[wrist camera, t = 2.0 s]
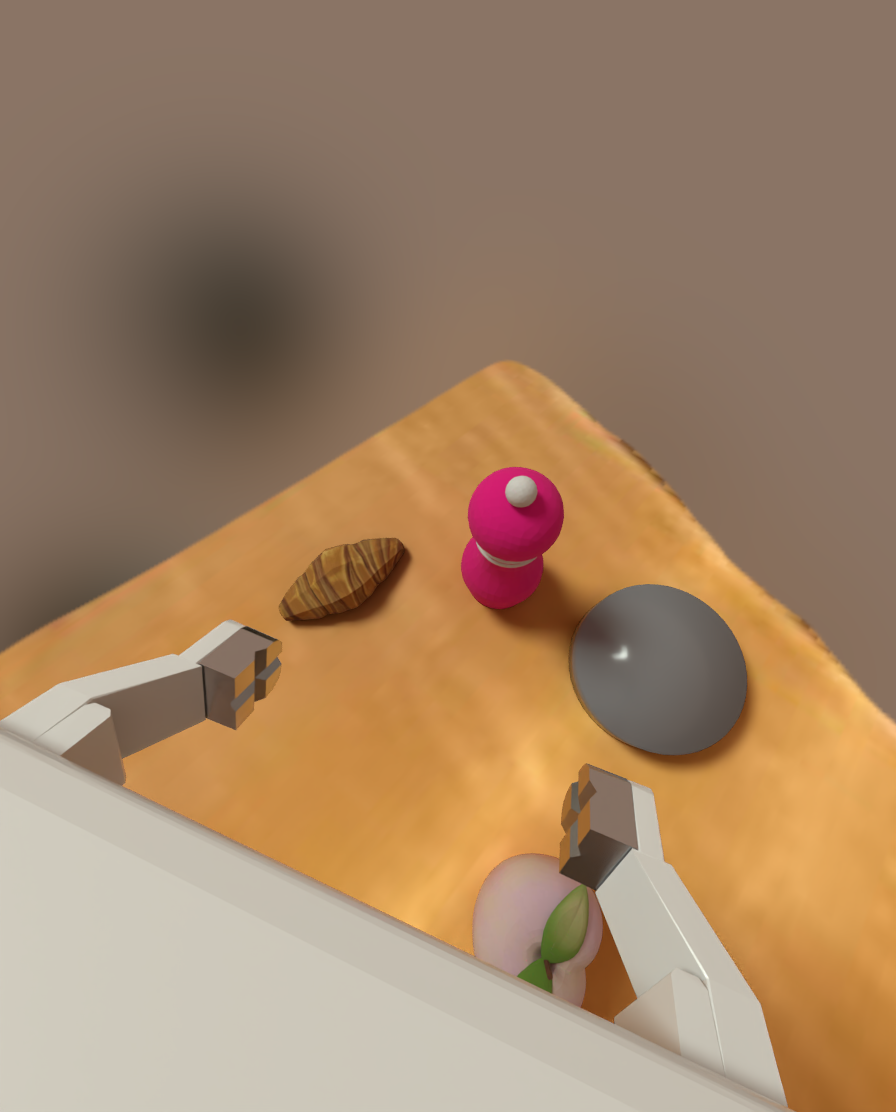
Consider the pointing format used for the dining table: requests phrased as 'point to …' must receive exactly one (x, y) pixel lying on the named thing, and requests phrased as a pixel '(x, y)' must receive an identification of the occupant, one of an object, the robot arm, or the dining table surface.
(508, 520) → the pepper mill
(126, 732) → the robot arm
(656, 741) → the smooth gray stone
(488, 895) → the decorative fruit
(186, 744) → the dining table surface
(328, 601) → the croissant
